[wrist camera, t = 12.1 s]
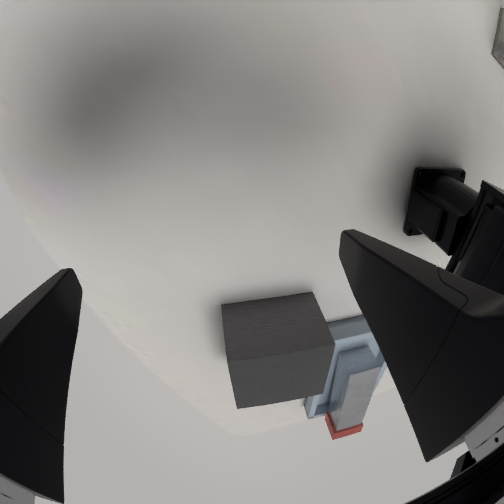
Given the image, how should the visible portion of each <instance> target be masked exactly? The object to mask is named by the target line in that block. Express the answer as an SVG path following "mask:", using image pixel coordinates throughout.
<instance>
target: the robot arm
mask: <svg viewBox="0 0 504 504" xmlns="http://www.w3.org/2000/svg"><path fill="white" fill-rule="evenodd" d="M420 171H421V173H420V175H419V172H420ZM465 174H466V173H465V171H464V170H463V169H460V168H439V167H417V168H416V169H415V171H414V176H413V183H412V189H411V195H410V201H409V206H408V212H407V217H406V222H405V227H404V233H405V234H406V235H407V236H413V235H421V234H424V235H425V236H426V237H427V238H428V239H430V240H431V241H432V242H435V243H436V244H437V245H438V246H439V247H440V248H441V249H442V250H443V251H444V252H445V253H446V254H447V255H448V256H451V255H452V257H451V259H450V261H449V263H448V265H447V267H446V269H445V270H444V269H442V268H440V267H436V265H434V264H432V263H429V262H427V261H425V260H423V259H421V258H419V257H416V256H414V255H412V254H410V253H408V252H405V251H403V250H401V249H399V248H397V247H394V246H392V245H390V244H387V243H385V242H383V241H381V240H378V239H376V238H374V237H371V236H369V235H367V234H364V233H362V232H359V231H357V230H355V229H350V230H344V231H342V233H341V238H340V248H339V257H340V260H341V263H342V266H343V268H344V271H345V273H346V276H347V279H348V282H349V284H350V287H351V290H352V292H353V295H354V297H355V299H356V301H357V303H358V305H359V307H360V309H361V311H362V313H363V315H364V317H365V319H366V321H367V323H368V325H369V328H370V330H371V332H372V334H373V336H374V338H375V340H376V342H377V344H378V347H379V349H380V351H381V353H382V355H383V358H384V360H385V362H386V364H387V366H388V369H389V371H390V373H391V376H392V378H393V380H394V382H395V385H396V387H397V389H398V392H399V394H400V396H401V399H402V401H403V404H405V405H404V407H405V409H406V411H407V414H408V416H409V419H410V421H411V424H412V427H413V429H414V432H415V434H416V437H417V439H418V442H419V445H420V448H421V450H422V453H423V456H424V459H425V461H426V462H429V461H430V460H433V459H435V458H436V457H438V456H440V455H442V454H444V453H446V452H447V451H449V450H451V449H453V448H454V447H456V446H458V445H459V444H461V443H462V442H464V441H465V443H466V445H467V447H468V449H469V451H468V452H466V453H465V454H463V455H462V456H460V457H459V458H458V459H457V461H456V464H455V467H454V470H453V472H452V475H451V478H450V480H448V481H447V482H445V483H443V484H441V485H440V486H438V487H436V488H435V489H432V490H431V491H429V492H427V493H425V494H423V495H421V496H419V497H417V498H415V499H413V500H411V501H409V502H407V503H405V504H504V190H502V189H500V188H498V187H496V186H494V185H492V184H490V183H488V182H486V181H484V180H482V183H481V189H480V192H479V193H478V192H476V191H475V190H473V189H472V188H470V187H468V186H467V185H465V184H464V180H465ZM409 229H410V230H409ZM81 301H82V287H81V285H80V283H79V280H78V278H77V276H76V274H75V272H74V270H73V269H72V268H66V269H61V270H60V271H59V272H58V273H56V274H55V275H53V276H52V277H51V278H49V279H48V280H47V281H46V282H45V283H43V284H42V285H41V286H39V287H38V288H37V289H36V290H34V291H33V292H32V293H31V294H29V295H28V296H27V297H26V298H24V299H23V300H22V301H21V302H20V303H18V304H17V305H16V306H15V307H14V308H13V309H12V310H10V311H9V312H8V313H7V314H6V315H4V316H3V317H2V318H1V319H0V504H34V501H35V496H38V497H41V498H44V499H48V500H51V501H55V502H58V503H62V504H64V482H63V481H64V480H63V479H64V477H63V459H64V458H63V457H64V445H63V444H64V430H65V417H66V406H67V397H68V389H69V381H70V374H71V367H72V360H73V355H74V349H75V344H76V338H77V333H78V326H79V316H80V309H81Z"/></svg>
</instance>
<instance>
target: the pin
mask: <svg viewBox="0 0 504 504" xmlns="http://www.w3.org/2000/svg"><path fill="white" fill-rule="evenodd" d="M380 369H381V366H380V364H379V362H378V361H377V359H376V357H375V356H374V354H373V352H372V351H371V349H370V347H369V346H368V345H365V346H361V347H357V348H353V349H349V350H345V351H341V352H339V353H338V360H337V366H336V372H335V378H334V384H333V389H332V395H331V400H330V405H329V410H328V412H326V416H325V420H326V423H327V426H328V429H329V431H330V434H331V437H332V439H333V440H334V439H337V438H341V437H344V436H347V435H351V434H354V433H357V432H360V431H361V429H362V427H363V423H362V420H363V418H364V415H365V413H366V410H367V407H368V405H369V401H370V399H371V396H372V393H373V390H374V387H375V384H376V381H377V378H378V375H379V372H380Z"/></svg>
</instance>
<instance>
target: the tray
mask: <svg viewBox="0 0 504 504" xmlns="http://www.w3.org/2000/svg"><path fill="white" fill-rule="evenodd" d="M327 325H328V328H329V330H330V332H331V334H332V337H333V339H334V341H335V344H336V345H335V349H334V353H333V357H332V361H331V365H330V369H329V373H328V377H327V380H326V384H325V388H324V391H323V394H319V395H315V396H310V397H306V399H305V404H304V407H305V410H306V414H307V417H308V419H312V418H316V417H320V416H325V415H326V412H328V410H329V405H330V400H331V395H332V389H333V384H334V378H335V372H336V366H337V360H338V353H339V352H341V351H345V350H349V349H353V348H357V347H361V346H365V345H368V346H369V347H370V349H371V351H372V352H373V354H374V356H375V357H376V359H377V361H378V362H379V364H380V366H381V369H380V372H379V375H378V378H377V381H376V384H375V387H374V390H373V393H374V391H375V389H376V387H377V385H378V383H379V381H380V379H381V377H382V375H383V373H384V371H385V369H386V367H387V364H386V362H385V360H384V358H383V355H382V353H381V351H380V349H379V347H378V344H377V342H376V340H375V338H374V336H373V334H372V332H371V330H370V328H369V325H368V323H367V321H366V319H365V317H364V315H363V316H358V317H354V318H349V319H344V320H339V321H334V322H329V323H327ZM373 393H372V394H373Z"/></svg>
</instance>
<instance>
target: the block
mask: <svg viewBox="0 0 504 504" xmlns="http://www.w3.org/2000/svg"><path fill="white" fill-rule="evenodd" d="M221 306H222V316H223V326H224V336H225V345H226V355H227V363H228V368H229V373H230V378H231V382H232V387H233V392H234V397H235V401H236V406H237V409H239V408H247V407H254V406H261V405H267V404H274V403H279V402H285V401H290V400H296V399H301V398H305V397H310V396H315V395H319V394H323V391H324V388H325V384H326V380H327V377H328V373H329V369H330V365H331V361H332V357H333V353H334V349H335V345H336V344H335V341H334V339H333V337H332V334H331V332H330V330H329V328H328V325H327V323H326V321H325V319H324V316H323V314H322V312H321V310H320V307H319V305H318V303H317V301H316V298H315V296H314V294H313V292H310V293H303V294H297V295H290V296H283V297H277V298H270V299H262V300H255V301H248V302H240V303H232V304H224V305H221Z"/></svg>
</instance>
